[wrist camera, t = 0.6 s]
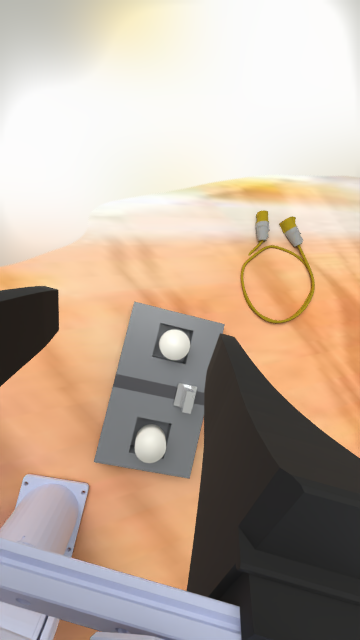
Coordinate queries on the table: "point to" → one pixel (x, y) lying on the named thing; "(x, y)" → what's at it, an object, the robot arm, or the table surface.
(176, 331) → the button
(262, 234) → the extension cord
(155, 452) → the button
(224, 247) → the table surface
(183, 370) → the switch panel
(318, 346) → the table surface
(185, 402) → the slider tab
